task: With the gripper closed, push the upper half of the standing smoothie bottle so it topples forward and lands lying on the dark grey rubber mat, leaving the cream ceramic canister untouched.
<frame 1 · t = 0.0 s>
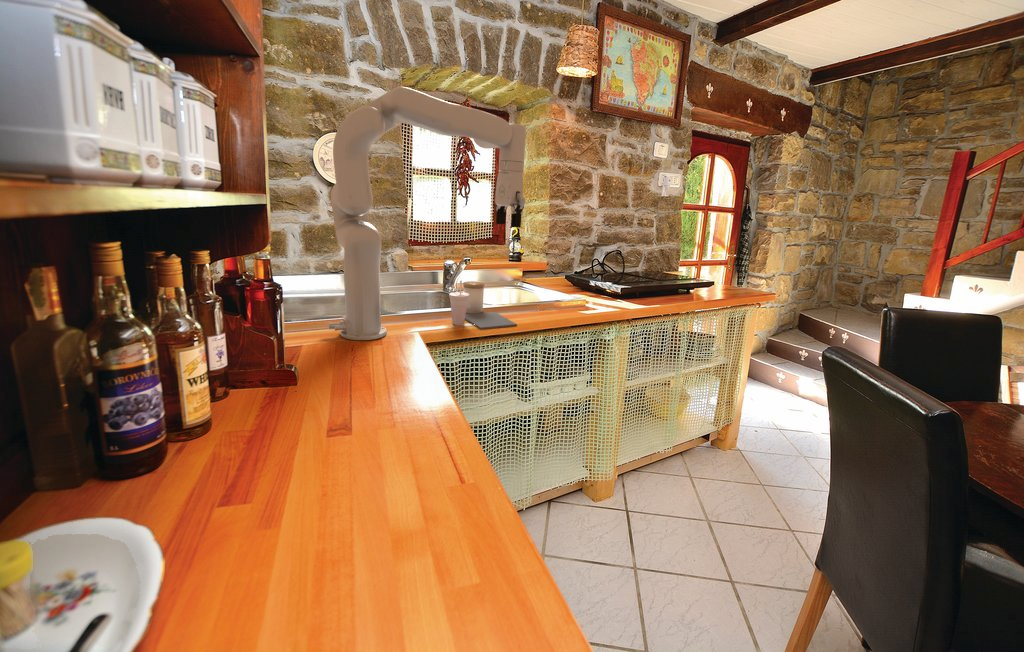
hand: (508, 225, 150), 31 cm above the table, fingers open, 9 cm apart
smoothie: (458, 324, 153), on the table
canister: (472, 311, 169), on the table
mat: (487, 320, 158), on the table
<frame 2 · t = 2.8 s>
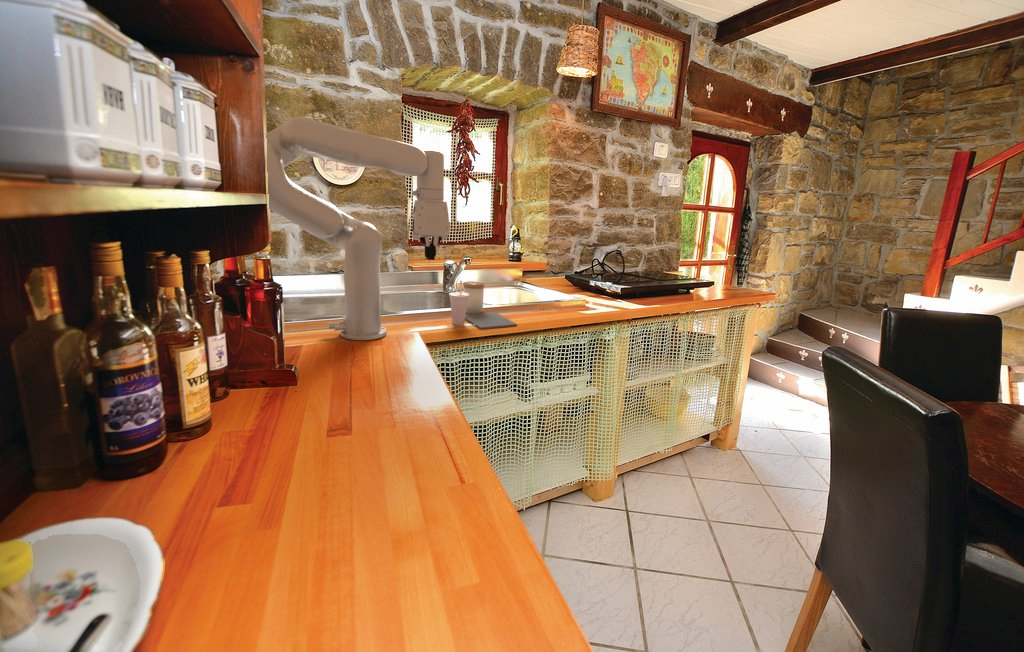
hand: (430, 259, 143), 21 cm above the table, fingers closed
nothing on the table moved.
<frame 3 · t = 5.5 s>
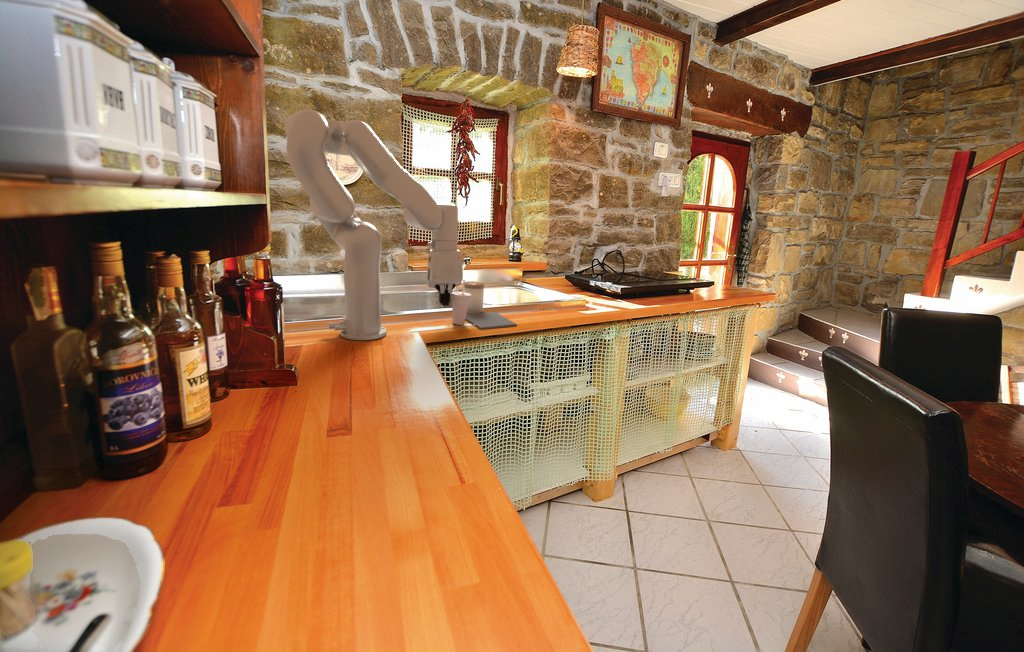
hand: (444, 304, 149), 6 cm above the table, fingers closed
smoothie: (458, 323, 153), on the table, touching gripper
everything else where it was.
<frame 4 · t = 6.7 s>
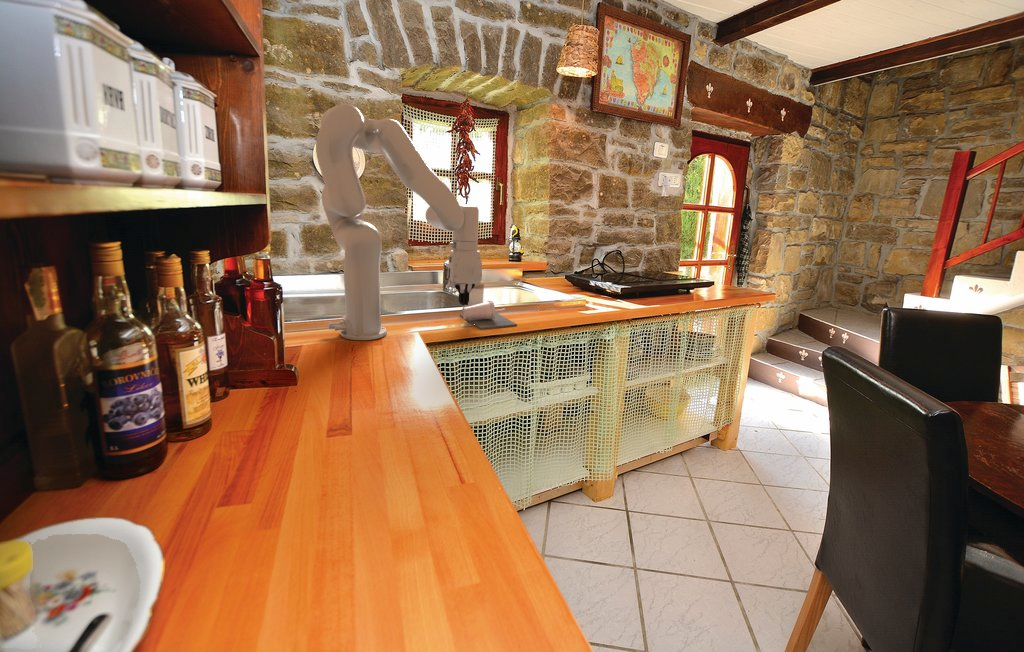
hand: (463, 304, 152), 6 cm above the table, fingers closed
smoothie: (463, 313, 153), point 3 cm above the table, touching mat
everything else where it was.
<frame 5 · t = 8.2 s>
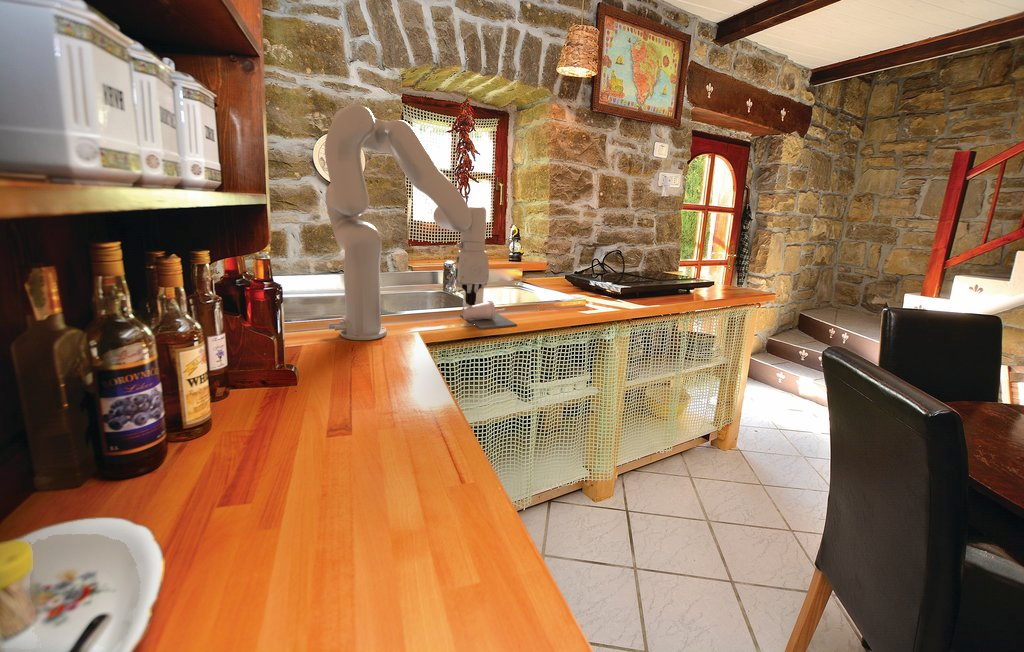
hand: (470, 304, 153), 6 cm above the table, fingers closed
nothing on the table moved.
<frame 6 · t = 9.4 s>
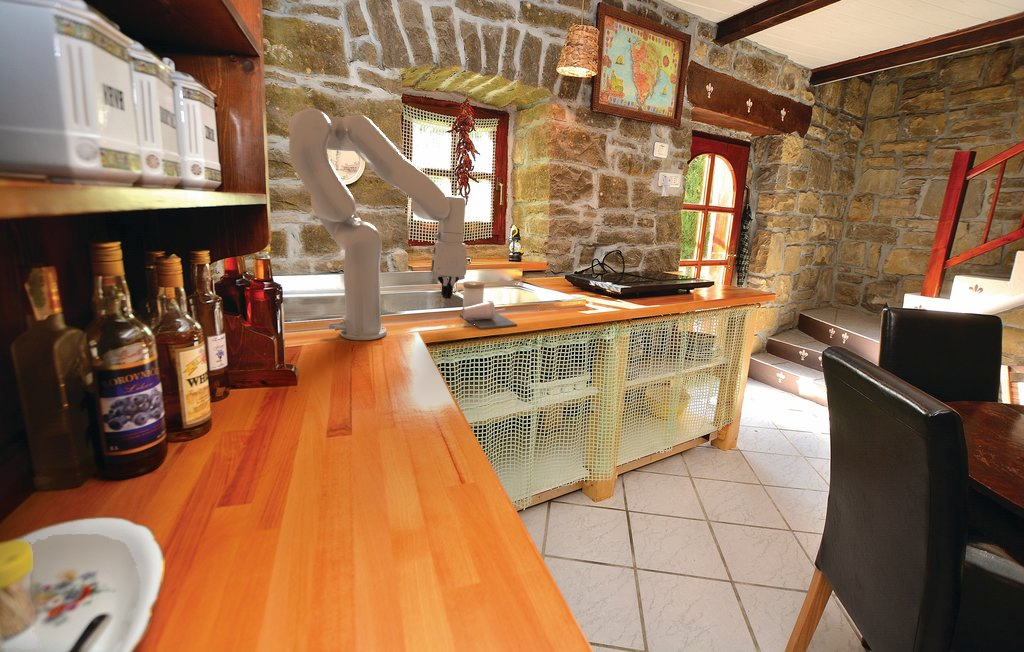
hand: (446, 297, 149), 9 cm above the table, fingers closed
nothing on the table moved.
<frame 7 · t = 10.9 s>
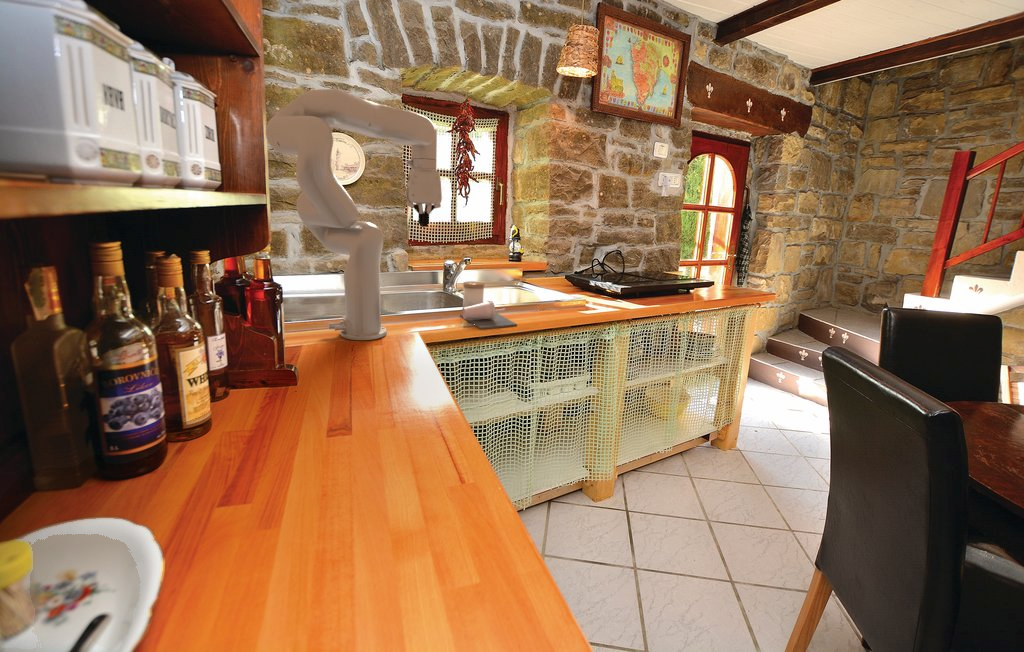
hand: (423, 226, 152), 29 cm above the table, fingers closed
nothing on the table moved.
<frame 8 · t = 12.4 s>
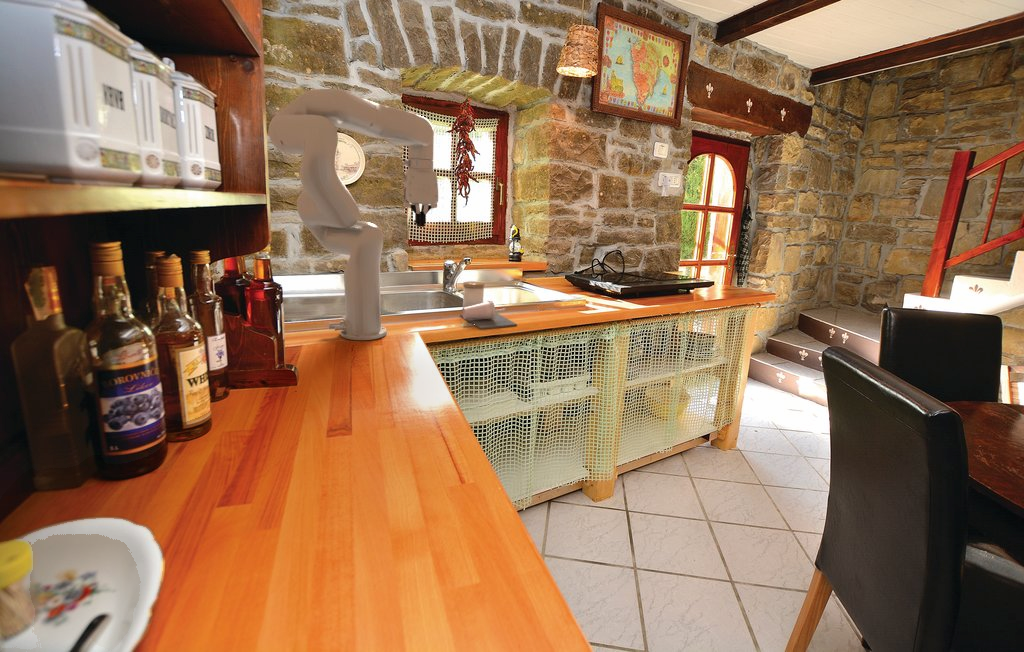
hand: (420, 226, 153), 29 cm above the table, fingers closed
nothing on the table moved.
at the end: smoothie tilted 86°; smoothie inside the target area (5.2 cm from its centre), point 3.1 cm above the table; canister moved 0.0 cm from its start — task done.
